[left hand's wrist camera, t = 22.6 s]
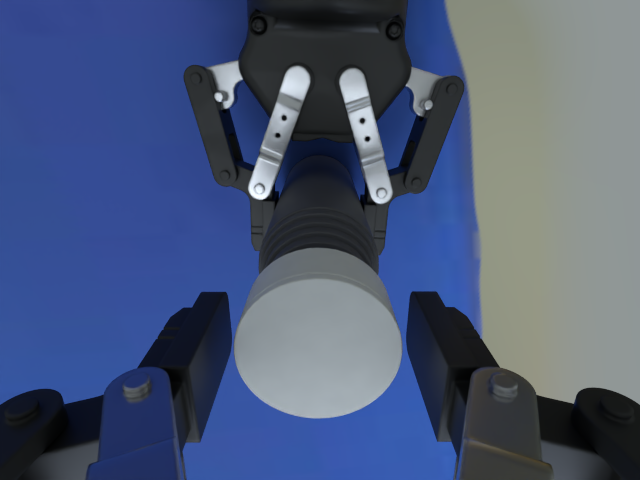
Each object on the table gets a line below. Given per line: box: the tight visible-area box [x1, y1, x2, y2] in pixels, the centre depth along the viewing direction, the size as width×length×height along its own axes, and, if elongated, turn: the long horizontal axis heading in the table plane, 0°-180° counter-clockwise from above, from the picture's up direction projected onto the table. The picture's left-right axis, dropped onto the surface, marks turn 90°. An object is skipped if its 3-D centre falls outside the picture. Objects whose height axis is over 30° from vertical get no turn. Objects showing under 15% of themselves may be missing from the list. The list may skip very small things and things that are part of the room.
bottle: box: [259, 155, 379, 275], centre depth 19 cm, size 5×5×18 cm
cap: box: [234, 248, 402, 418], centre depth 11 cm, size 4×4×2 cm
